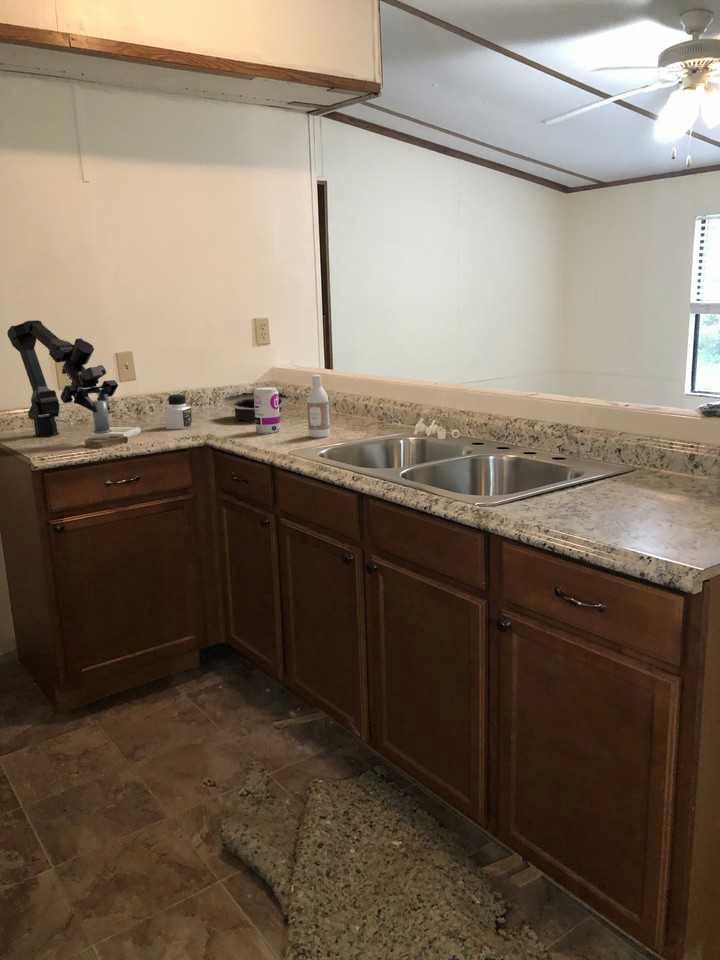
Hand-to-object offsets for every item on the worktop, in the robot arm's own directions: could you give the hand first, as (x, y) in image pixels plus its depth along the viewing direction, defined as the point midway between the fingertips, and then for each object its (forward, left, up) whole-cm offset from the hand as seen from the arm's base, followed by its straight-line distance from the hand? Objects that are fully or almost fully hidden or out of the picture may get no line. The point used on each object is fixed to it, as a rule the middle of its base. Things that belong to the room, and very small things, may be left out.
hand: (102, 410), depth 251 cm
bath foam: (+67, +19, -11) cm, 70 cm away
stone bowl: (+34, +54, -11) cm, 64 cm away
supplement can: (+47, +26, -11) cm, 54 cm away
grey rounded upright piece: (-1, +1, -7) cm, 7 cm away
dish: (-4, +15, -11) cm, 19 cm away
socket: (0, 0, -11) cm, 11 cm away
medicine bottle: (+11, +33, -11) cm, 36 cm away
